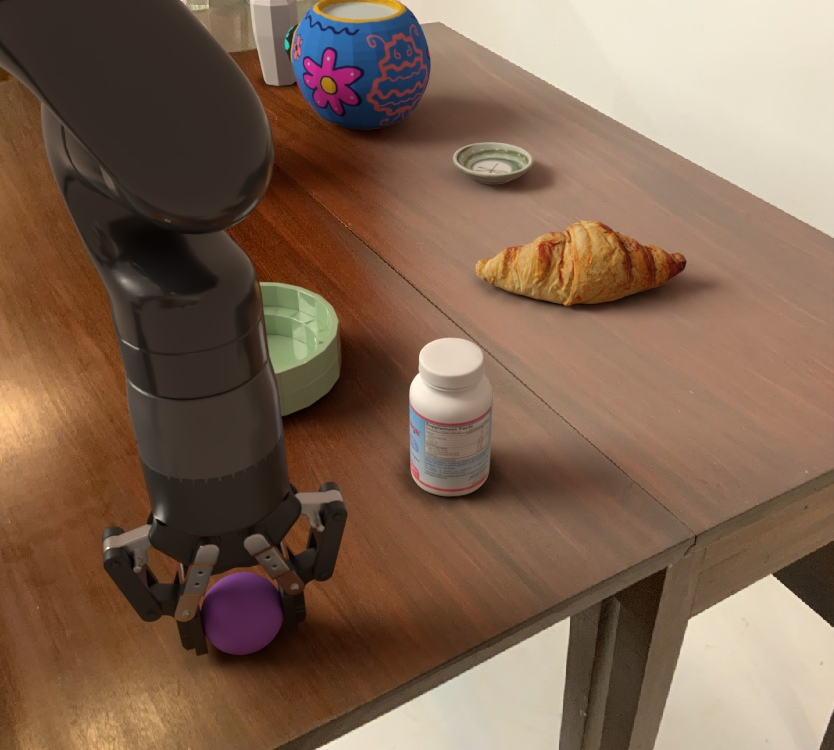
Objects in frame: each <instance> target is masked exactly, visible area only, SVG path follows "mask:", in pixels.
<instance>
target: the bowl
mask: <svg viewBox="0 0 834 750" xmlns="http://www.w3.org/2000/svg"><path fill="white" fill-rule="evenodd" d="M259 282H260V287H261V292H262V300H263V309H264V317H265V325H266V334H267V342H268V349H269V354H270V358H271V362H272V365H273V368H274V372H275V375H276V379H277V384H278V389H279V396H280V406H281V415H282V417H285V416H288V415H290V414H293V413H296V412H298V411H301V410H303V409H307V408H308V407H310V406H312V405H313V404H314V403H316V402H317V401H319V400H320V399H321V398H323V397H324V396H325V395H327V394H328V393H329V392H330V391H331V390H332V388H333V386H335V384H336V382H337V381H338V379H339V378H340V376H341V375H340V374H341V368H342V362H343V361H342V348H341V345H342V344H341V332H340V320H339V317H338V315H337V312H336V310H335V307H334V306H333V305H331V303H330V302H328V301H327V300H326V299H325V298H324V297H323V296H322V295H320V294H319V293H316V292H313V291H311V290H309V289H307V288H305V287H302V286H297V285H293V284H288V283H283V282H275V281H274V282H270V281H259Z"/></svg>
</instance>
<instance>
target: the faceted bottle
mask: <svg viewBox="0 0 834 750" xmlns="http://www.w3.org/2000/svg"><path fill="white" fill-rule="evenodd" d="M249 7H250V17H251V24H252V32H253V37H254V40H255V47H256V50H257V54H258V59H259V64H260V68H261V72H262V76H263V81H264V82H265V84H266V85H271V86H277V87H280V86H282V87H283V86H290V85H293V84H294V83H295V82H297V81H296V78H295V74H294V69H293V64H292V63H291V61H290V60H289V58H288V56H287V54H286V50H285V38H286V35H287V33H288V31H289V30H290V29H291V28H292V27H293V26H295V25H297V24H299V17H298V4H297V0H249Z"/></svg>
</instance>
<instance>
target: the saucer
mask: <svg viewBox="0 0 834 750" xmlns="http://www.w3.org/2000/svg"><path fill="white" fill-rule="evenodd" d="M452 163H453V165H454V166H455V168H457V169H458V170H459V171H461V173H462V174H464V175H465V176H467V177H468V178H471V179H474V180H475V181H477V183H481V184H485V185H502V184H507V183H509V182H510V181H512V180H516V179H518V178H519V177H521V176H523V175H524V174H526V172H528V171H529V170H531V169H532V167H533V164H534V158H533V155H532V154H531V153H530V152H529V151H528V150H526V149H524V148H522V147H520V146H517V145H514V144H510V143H505V142H504V143H503V142H495V141H494V142H493V141H489V142H487V141H484V142H483V141H482V142H475V143H471V144H467V145H465V146H462V147H460V148H458V149H457V150H456V151H455V152H454V154H453V156H452Z"/></svg>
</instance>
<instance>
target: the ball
mask: <svg viewBox="0 0 834 750" xmlns="http://www.w3.org/2000/svg"><path fill="white" fill-rule="evenodd" d="M200 610H201V619H202V625H203V630H204V634H205V635H206V640H208V641H209V643H211V644H212V646H214V647H215V648H216V649H217V650H220V651H221V652H223V653H226V654H229V655H235V656H237V655H238V656H244V655H249V654H253V653H256V652H258V651H260V650H262V649H263V648H266V647H267V646H268V645H269V644H270V643H271V642H272V641H273V640H274V638H275V637H276V636H277V635H278V633H279V631H280V629H281V627H282V624H283V621H284V620H283V607H282V602H281V597H280V594H279V591H278V587H276V586H275V584H274V583H272V582H271V580H269V579H268V578H267V577H265V576H263V575H261V574H258V573H255V572H250V571H249V572H247V571H241V572H234V573H230V574H228V575H225V576H224V577H222V578H221V579H219V580H218V581H216V582H215V583H214V584H213V585H212V586H211V587H210V589H208V591H207V592H206V593H205V595H204V598H203V601H202V604H201V606H200Z"/></svg>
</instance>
